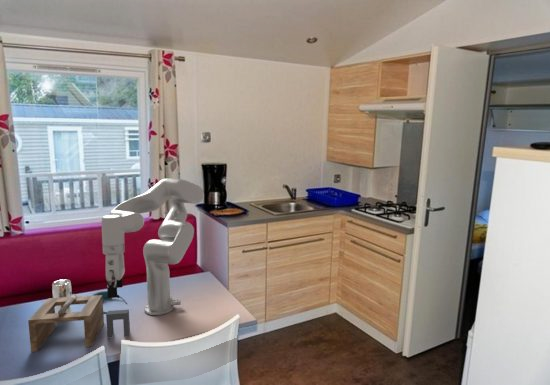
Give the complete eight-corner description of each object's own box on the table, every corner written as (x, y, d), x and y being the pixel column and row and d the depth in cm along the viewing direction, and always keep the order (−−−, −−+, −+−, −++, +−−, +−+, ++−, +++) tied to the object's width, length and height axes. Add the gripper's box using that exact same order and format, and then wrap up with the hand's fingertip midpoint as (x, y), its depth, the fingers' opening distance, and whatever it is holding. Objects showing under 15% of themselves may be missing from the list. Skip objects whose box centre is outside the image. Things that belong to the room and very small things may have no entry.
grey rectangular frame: (129, 332, 149) (128, 309, 148) (128, 336, 146) (127, 313, 145) (109, 333, 148) (108, 310, 146) (107, 337, 145) (106, 314, 143)
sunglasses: (107, 296, 181) (107, 286, 180) (130, 306, 176) (131, 296, 175) (81, 308, 169) (81, 298, 168) (105, 320, 163) (105, 309, 162)
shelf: (103, 322, 156) (101, 290, 154) (91, 346, 139) (89, 310, 136) (50, 326, 152) (47, 293, 150) (31, 351, 135) (27, 314, 133)
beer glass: (65, 320, 157) (62, 286, 155) (50, 318, 159) (47, 284, 156) (77, 313, 164) (74, 279, 162) (62, 311, 166) (60, 278, 163)
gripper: (119, 254, 134) (121, 301, 136) (128, 241, 151) (130, 283, 153) (96, 255, 132) (98, 302, 135) (108, 242, 149) (110, 284, 151)
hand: (115, 292), depth 144 cm, fingers open, 9 cm apart
